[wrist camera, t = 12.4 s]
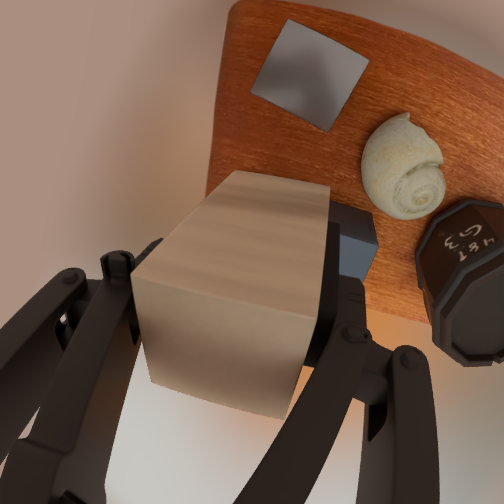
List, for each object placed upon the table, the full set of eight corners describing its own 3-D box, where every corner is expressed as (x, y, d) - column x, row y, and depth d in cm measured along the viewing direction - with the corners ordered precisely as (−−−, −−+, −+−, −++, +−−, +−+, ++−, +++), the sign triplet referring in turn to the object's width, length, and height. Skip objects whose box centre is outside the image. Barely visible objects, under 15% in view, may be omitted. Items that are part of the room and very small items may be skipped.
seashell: (458, 222, 31) (379, 241, 33) (434, 204, 38) (366, 219, 41) (442, 108, 27) (355, 123, 29) (417, 109, 34) (344, 122, 36)
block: (235, 169, 17) (129, 274, 8) (330, 186, 16) (317, 318, 8) (229, 250, 19) (150, 382, 11) (313, 268, 18) (283, 420, 10)
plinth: (300, 34, 32) (287, 18, 22) (360, 65, 32) (370, 60, 23) (271, 88, 36) (248, 92, 27) (329, 119, 36) (327, 133, 27)
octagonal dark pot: (477, 312, 44) (503, 384, 31) (392, 279, 45) (405, 358, 32) (534, 222, 34) (586, 281, 21) (447, 171, 35) (497, 222, 22)
